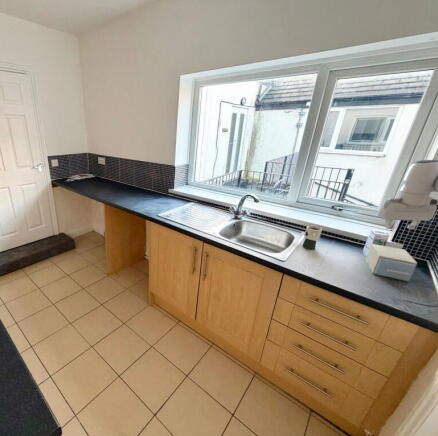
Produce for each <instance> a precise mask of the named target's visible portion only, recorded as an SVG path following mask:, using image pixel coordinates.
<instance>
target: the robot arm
mask: <svg viewBox="0 0 438 436" xmlns="http://www.w3.org/2000/svg"><path fill="white" fill-rule="evenodd" d="M402 184H403V185H402V186H401V187H400V189H399V192H398V194H397V197H396V198H389V199H387V200H385V201H384V202H383V204H382V205H381V206H382V207H381V208H380V209H379V211H378V214H377V216H378V218H379V219H382V220H384V221H385V229H388V230H392V229H393V228H394V225H393V224H392V223H393V222H394V221H412V222H411V223H410V224H407V226H406V229H408V230H415V228H416V227H417V226H418V225H419V224H420V223H421V222H422V221H431V220H432V219H433V218H434V216H435V213H436V211H437V206H438V199H437V198H433V197H431V196H430V195H431V193H433V192H434V193H438V159H423V160H417V161H414V162H413V163H412V164H411V165H410V166H409V168H408V170H407V172H406V173H405V176H404V178H403V183H402Z"/></svg>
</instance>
